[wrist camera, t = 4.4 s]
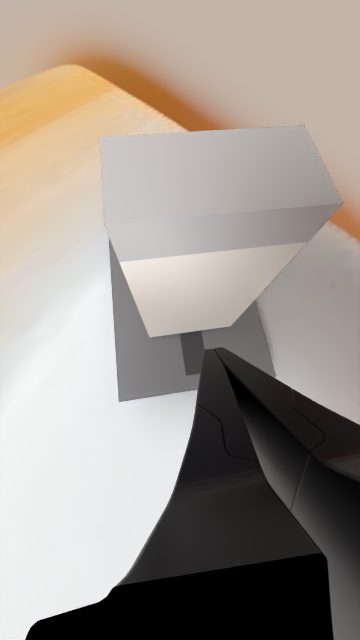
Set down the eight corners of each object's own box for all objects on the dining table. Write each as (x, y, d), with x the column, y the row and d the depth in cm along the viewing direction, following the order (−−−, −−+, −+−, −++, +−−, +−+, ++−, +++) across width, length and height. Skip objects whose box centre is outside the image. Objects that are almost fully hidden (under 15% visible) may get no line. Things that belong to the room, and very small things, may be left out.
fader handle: (230, 326, 16) (343, 203, 5) (149, 337, 15) (104, 225, 5) (221, 290, 17) (304, 124, 6) (145, 299, 16) (99, 137, 6)
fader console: (267, 377, 17) (277, 376, 15) (123, 401, 16) (118, 402, 14) (216, 191, 22) (220, 176, 21) (110, 200, 21) (105, 185, 20)
